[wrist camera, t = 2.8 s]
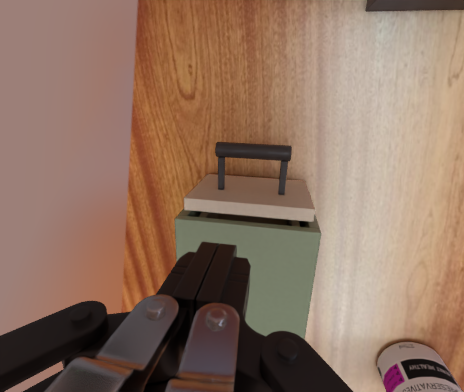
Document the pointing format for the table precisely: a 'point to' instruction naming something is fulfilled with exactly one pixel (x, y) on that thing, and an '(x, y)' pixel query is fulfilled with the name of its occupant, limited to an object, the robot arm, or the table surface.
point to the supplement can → (414, 369)
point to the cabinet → (263, 265)
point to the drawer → (252, 190)
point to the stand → (414, 5)
